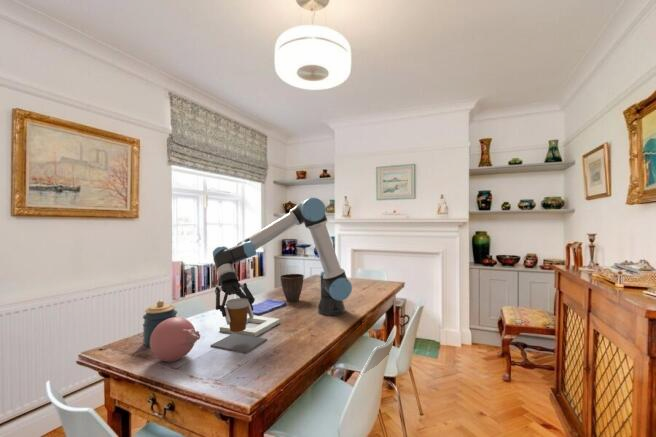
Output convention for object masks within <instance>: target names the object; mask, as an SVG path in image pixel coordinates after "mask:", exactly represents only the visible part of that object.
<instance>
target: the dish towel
mask: <svg viewBox="0 0 656 437" xmlns="http://www.w3.org/2000/svg"><path fill="white" fill-rule="evenodd" d="M287 305H288V304H287V301H279V300H273V299H266V300H263V301H261V302H258V303H253V304H252V306H253V311H252V312H253V315H254V316H261V315H264V314H267V313H270V312H273V311H276V310H279V309H281V308H284V307H286V306H287Z"/></svg>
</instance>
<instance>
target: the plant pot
mask: <svg viewBox="0 0 656 437" xmlns="http://www.w3.org/2000/svg"><path fill="white" fill-rule="evenodd" d="M279 278H280V284H281V289H282V291H283V294H284V297H285V300H286V303H287V302H288V303H297V302H299V300H300V298H301V294H302V290H303V285H304V278H305V275H304V274H302V273H301V274H300V273H289V274H282V275H280V277H279Z"/></svg>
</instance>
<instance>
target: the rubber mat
mask: <svg viewBox="0 0 656 437" xmlns="http://www.w3.org/2000/svg"><path fill="white" fill-rule="evenodd" d="M267 341H268V338H264V337H258V336H256V337H253V336H247V335H241V334H235V333H230V335H228V336H226V337H223V338H222V339H219V340H218V341H216V342H214V343H212V344H210V347H211V348H216V349H222V350H226V351H232V352H236V353H241V354H247V353H249V352H251V351H252V350H254V349H256V348H258V346H259V347H260V346H261V345H262V344H264V343H266V342H267Z"/></svg>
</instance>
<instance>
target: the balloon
mask: <svg viewBox="0 0 656 437" xmlns="http://www.w3.org/2000/svg"><path fill="white" fill-rule="evenodd" d="M200 338H201V334H200V331H199V330H196V328H195V326H194V324H192V322H191V321H190V320H188V319H187V318H184V317H181V316H180V317H179V316H176V317H173V318H169V319H166V320H164V321H162V322H161V323H160V324H159V325H157V327H156V328H155V329H154V331H153V332H152V335H151V338H150V347H149V348H150V350H151V352H152V354H153V355H154V357H156V358H157V359H159V360H160V361H163V362H176V361H178V360H180V359H182V358H185V356H187V355H188V354H189V353H190V352H191V350H192V349H193V347H194V346H195V344H196V342H198V341H199V340H200Z"/></svg>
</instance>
